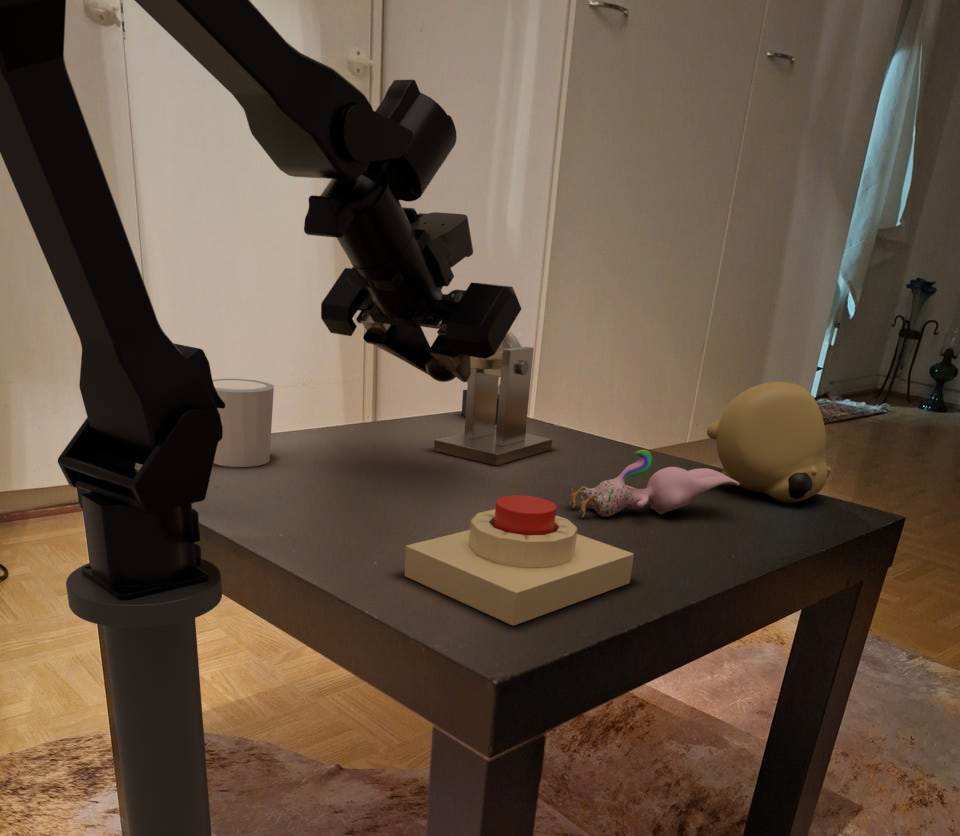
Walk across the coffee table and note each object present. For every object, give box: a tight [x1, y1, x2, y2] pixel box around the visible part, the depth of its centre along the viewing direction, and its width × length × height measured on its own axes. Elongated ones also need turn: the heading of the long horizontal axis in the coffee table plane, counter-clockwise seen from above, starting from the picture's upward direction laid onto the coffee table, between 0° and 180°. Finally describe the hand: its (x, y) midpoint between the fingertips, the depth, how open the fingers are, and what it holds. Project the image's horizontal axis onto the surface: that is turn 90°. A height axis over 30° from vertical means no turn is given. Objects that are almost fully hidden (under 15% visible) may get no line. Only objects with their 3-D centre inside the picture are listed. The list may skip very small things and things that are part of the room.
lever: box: [425, 346, 503, 383], centre depth 86 cm, size 13×4×4 cm, turn 145°
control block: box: [404, 508, 635, 627], centre depth 58 cm, size 12×10×4 cm
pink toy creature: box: [569, 449, 740, 519], centre depth 75 cm, size 6×6×15 cm
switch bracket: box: [433, 344, 553, 467], centre depth 91 cm, size 11×8×11 cm
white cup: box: [212, 378, 275, 468], centre depth 81 cm, size 7×7×7 cm
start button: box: [494, 494, 557, 535], centre depth 57 cm, size 4×4×2 cm
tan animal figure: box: [706, 381, 832, 504], centre depth 84 cm, size 10×12×11 cm
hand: (451, 375), depth 83 cm, fingers closed on lever, 3 cm apart
